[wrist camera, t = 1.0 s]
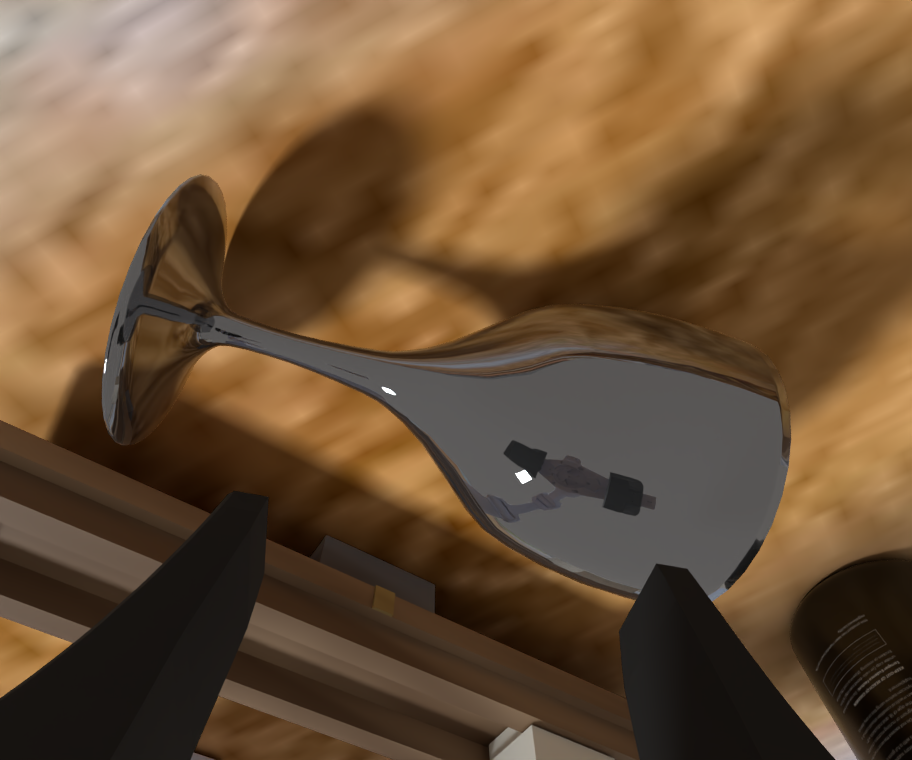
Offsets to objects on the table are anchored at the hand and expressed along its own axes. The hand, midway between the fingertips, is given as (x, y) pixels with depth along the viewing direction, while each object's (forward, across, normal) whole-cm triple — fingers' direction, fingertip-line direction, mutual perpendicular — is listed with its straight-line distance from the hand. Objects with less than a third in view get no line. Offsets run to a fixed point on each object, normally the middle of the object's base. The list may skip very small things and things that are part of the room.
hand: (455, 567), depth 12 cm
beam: (+9, +2, +13) cm, 16 cm away
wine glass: (+6, +8, 0) cm, 10 cm away
